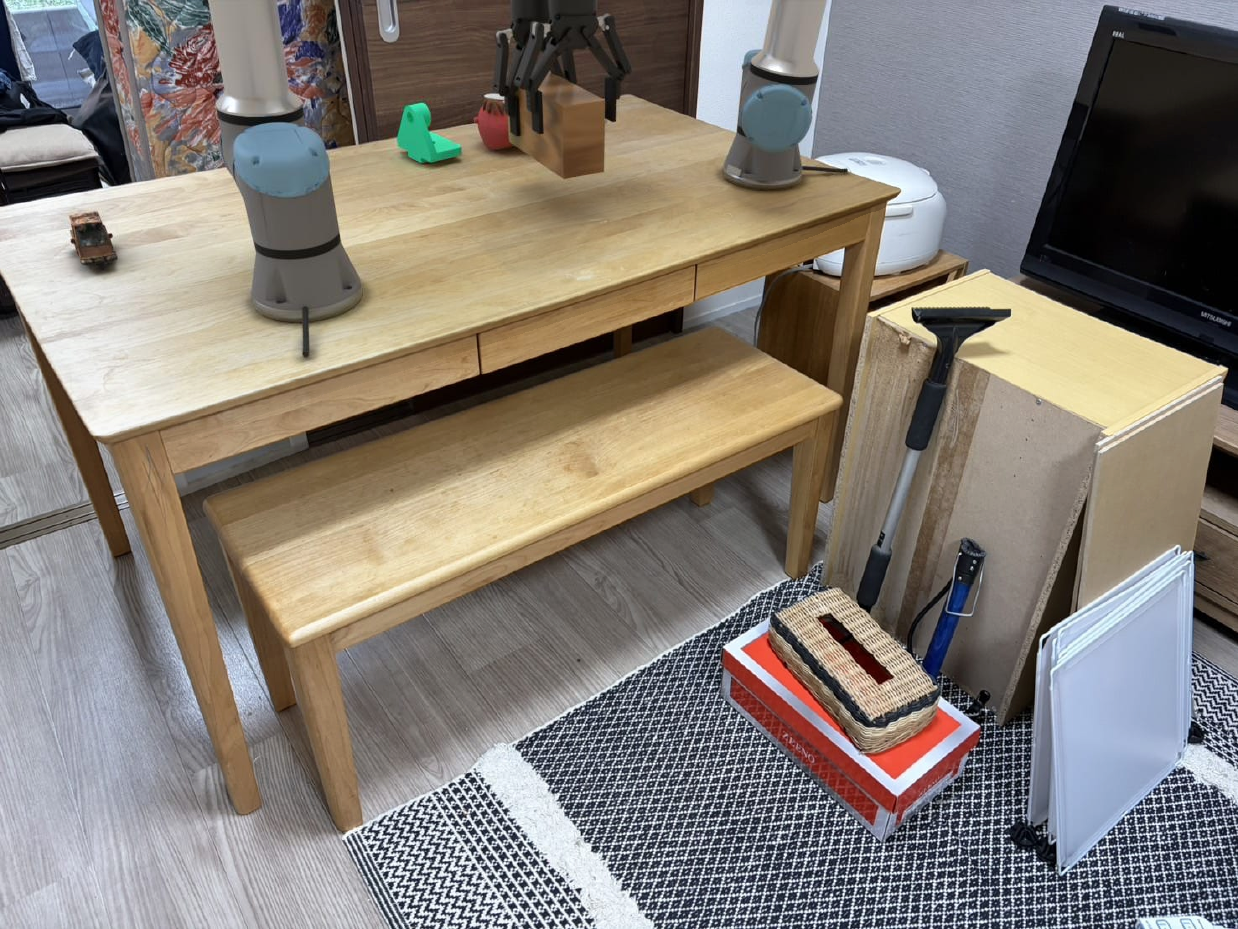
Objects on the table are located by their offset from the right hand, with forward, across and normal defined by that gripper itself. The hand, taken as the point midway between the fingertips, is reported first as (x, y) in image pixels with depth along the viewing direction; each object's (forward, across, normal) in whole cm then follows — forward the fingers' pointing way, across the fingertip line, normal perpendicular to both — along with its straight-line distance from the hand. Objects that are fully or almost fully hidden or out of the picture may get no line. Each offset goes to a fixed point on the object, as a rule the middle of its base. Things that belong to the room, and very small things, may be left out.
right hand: (536, 130), depth 166 cm
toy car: (+11, +74, -3) cm, 75 cm away
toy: (+11, -14, -26) cm, 31 cm away
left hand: (-5, 0, +14) cm, 15 cm away
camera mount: (+11, +11, -25) cm, 30 cm away
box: (+2, 0, +7) cm, 7 cm away
